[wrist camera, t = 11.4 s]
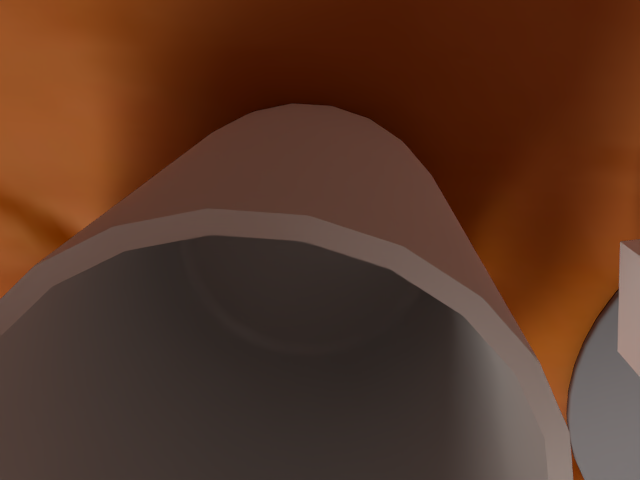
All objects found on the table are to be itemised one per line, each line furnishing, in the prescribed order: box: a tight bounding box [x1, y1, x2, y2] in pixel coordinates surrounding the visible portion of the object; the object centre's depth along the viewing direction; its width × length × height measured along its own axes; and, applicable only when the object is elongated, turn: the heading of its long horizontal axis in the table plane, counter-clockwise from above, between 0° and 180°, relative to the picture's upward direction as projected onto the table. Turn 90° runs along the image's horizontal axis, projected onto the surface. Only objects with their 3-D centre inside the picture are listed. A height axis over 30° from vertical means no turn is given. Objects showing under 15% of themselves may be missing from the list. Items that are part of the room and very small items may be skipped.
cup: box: [0, 103, 573, 480], centre depth 11 cm, size 7×10×9 cm
